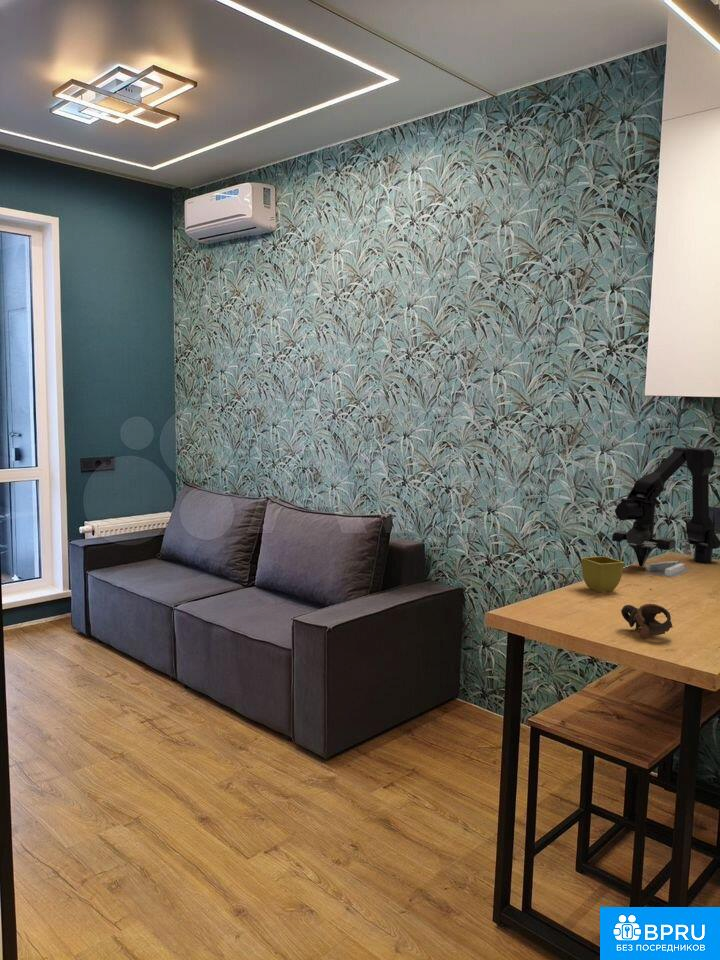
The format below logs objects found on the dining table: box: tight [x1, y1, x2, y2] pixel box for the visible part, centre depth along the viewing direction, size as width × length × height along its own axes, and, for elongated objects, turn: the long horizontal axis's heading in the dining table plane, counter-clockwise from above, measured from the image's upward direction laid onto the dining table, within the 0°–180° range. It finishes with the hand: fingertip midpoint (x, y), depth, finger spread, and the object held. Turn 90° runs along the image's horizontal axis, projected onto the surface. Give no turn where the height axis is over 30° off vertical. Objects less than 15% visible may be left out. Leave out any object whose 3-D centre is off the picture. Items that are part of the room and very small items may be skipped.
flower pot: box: [580, 555, 625, 593], centre depth 216 cm, size 9×9×9 cm
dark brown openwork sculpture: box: [620, 603, 674, 640], centre depth 178 cm, size 12×10×8 cm
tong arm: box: [645, 560, 681, 571], centre depth 240 cm, size 14×2×2 cm, turn 117°
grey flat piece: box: [644, 562, 692, 578], centre depth 239 cm, size 16×9×3 cm, turn 137°
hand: (641, 566), depth 242 cm, fingers closed
